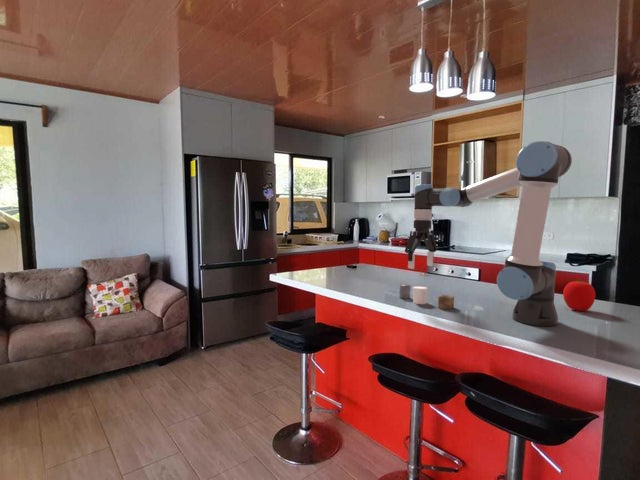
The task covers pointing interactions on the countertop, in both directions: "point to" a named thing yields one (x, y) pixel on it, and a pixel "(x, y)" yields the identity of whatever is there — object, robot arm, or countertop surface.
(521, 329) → the countertop surface
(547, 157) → the robot arm
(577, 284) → the tomato
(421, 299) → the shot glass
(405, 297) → the dark grey cylinder
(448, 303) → the walnut block
